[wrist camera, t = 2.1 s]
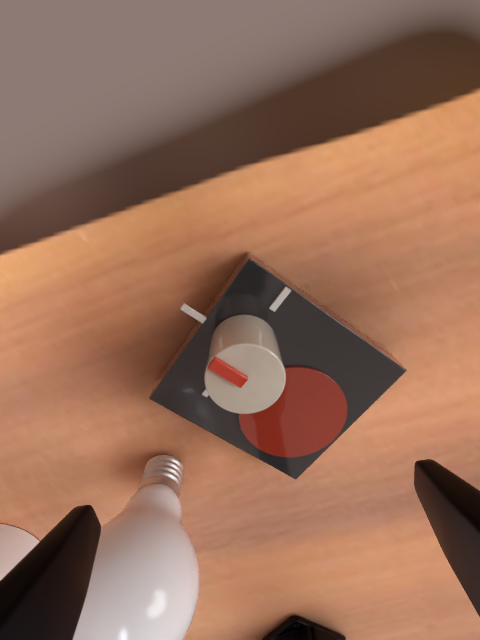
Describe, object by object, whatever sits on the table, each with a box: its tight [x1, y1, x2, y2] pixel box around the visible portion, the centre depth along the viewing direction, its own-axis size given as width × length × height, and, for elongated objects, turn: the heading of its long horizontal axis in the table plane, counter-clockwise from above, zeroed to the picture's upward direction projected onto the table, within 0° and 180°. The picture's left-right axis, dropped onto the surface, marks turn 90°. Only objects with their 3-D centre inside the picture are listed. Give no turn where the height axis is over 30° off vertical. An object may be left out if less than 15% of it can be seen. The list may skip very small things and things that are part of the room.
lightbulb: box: [73, 455, 200, 640], centre depth 18 cm, size 6×6×11 cm
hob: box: [149, 252, 407, 479], centre depth 19 cm, size 10×12×2 cm
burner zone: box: [239, 366, 347, 457], centre depth 19 cm, size 6×6×1 cm
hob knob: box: [204, 315, 286, 414], centre depth 16 cm, size 4×4×4 cm
